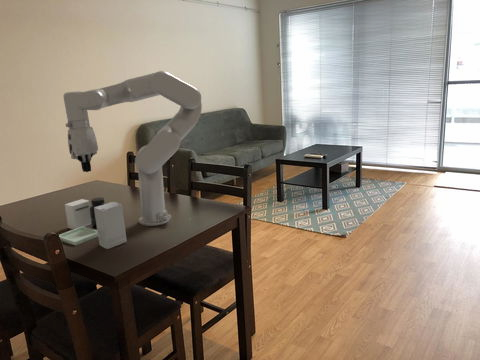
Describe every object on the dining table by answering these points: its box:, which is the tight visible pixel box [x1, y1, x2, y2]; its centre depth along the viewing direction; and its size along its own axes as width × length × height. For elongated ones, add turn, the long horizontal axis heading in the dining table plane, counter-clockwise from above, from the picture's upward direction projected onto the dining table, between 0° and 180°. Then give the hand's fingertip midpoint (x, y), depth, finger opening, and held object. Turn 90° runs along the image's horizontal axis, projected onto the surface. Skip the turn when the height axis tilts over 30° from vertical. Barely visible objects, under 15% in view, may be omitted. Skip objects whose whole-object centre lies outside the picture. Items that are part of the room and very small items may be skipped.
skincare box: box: [94, 201, 128, 250], centre depth 144 cm, size 8×6×15 cm
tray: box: [58, 226, 98, 247], centre depth 153 cm, size 12×12×2 cm
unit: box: [64, 198, 92, 230], centre depth 164 cm, size 6×8×10 cm
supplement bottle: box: [90, 197, 106, 230], centre depth 161 cm, size 7×7×12 cm
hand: (87, 171), depth 159 cm, fingers closed
